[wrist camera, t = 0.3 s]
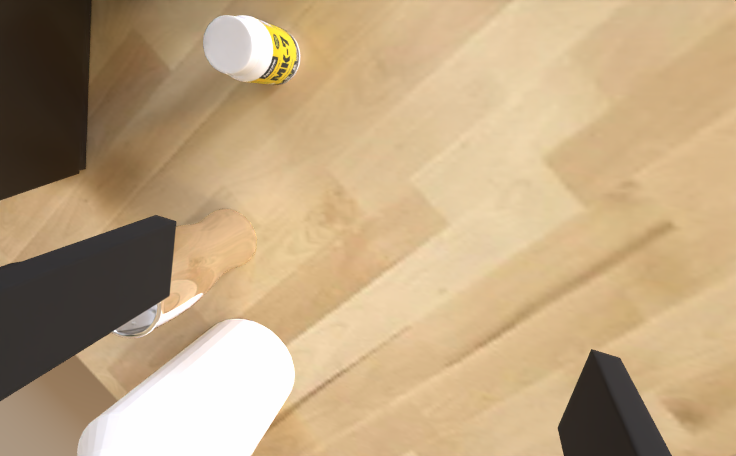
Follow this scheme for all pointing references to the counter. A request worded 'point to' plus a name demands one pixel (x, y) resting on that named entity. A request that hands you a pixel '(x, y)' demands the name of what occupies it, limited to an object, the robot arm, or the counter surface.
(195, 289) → the beer glass
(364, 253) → the counter surface
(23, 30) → the laptop screen
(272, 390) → the bottle
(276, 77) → the supplement bottle
